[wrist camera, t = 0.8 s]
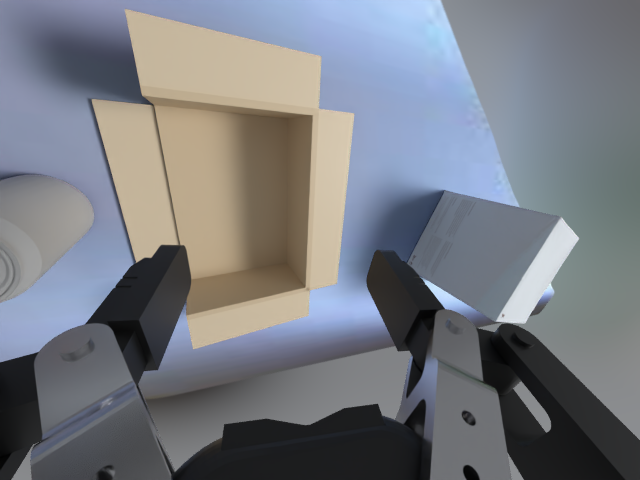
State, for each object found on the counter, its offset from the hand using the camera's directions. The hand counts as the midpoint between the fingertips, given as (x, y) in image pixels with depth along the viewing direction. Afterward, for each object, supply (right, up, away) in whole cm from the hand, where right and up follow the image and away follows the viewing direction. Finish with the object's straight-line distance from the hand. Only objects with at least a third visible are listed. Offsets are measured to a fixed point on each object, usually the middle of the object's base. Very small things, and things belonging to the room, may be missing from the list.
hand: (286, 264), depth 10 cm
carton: (-9, +6, +18) cm, 21 cm away
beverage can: (-23, +4, +12) cm, 26 cm away
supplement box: (+27, +2, +41) cm, 49 cm away
